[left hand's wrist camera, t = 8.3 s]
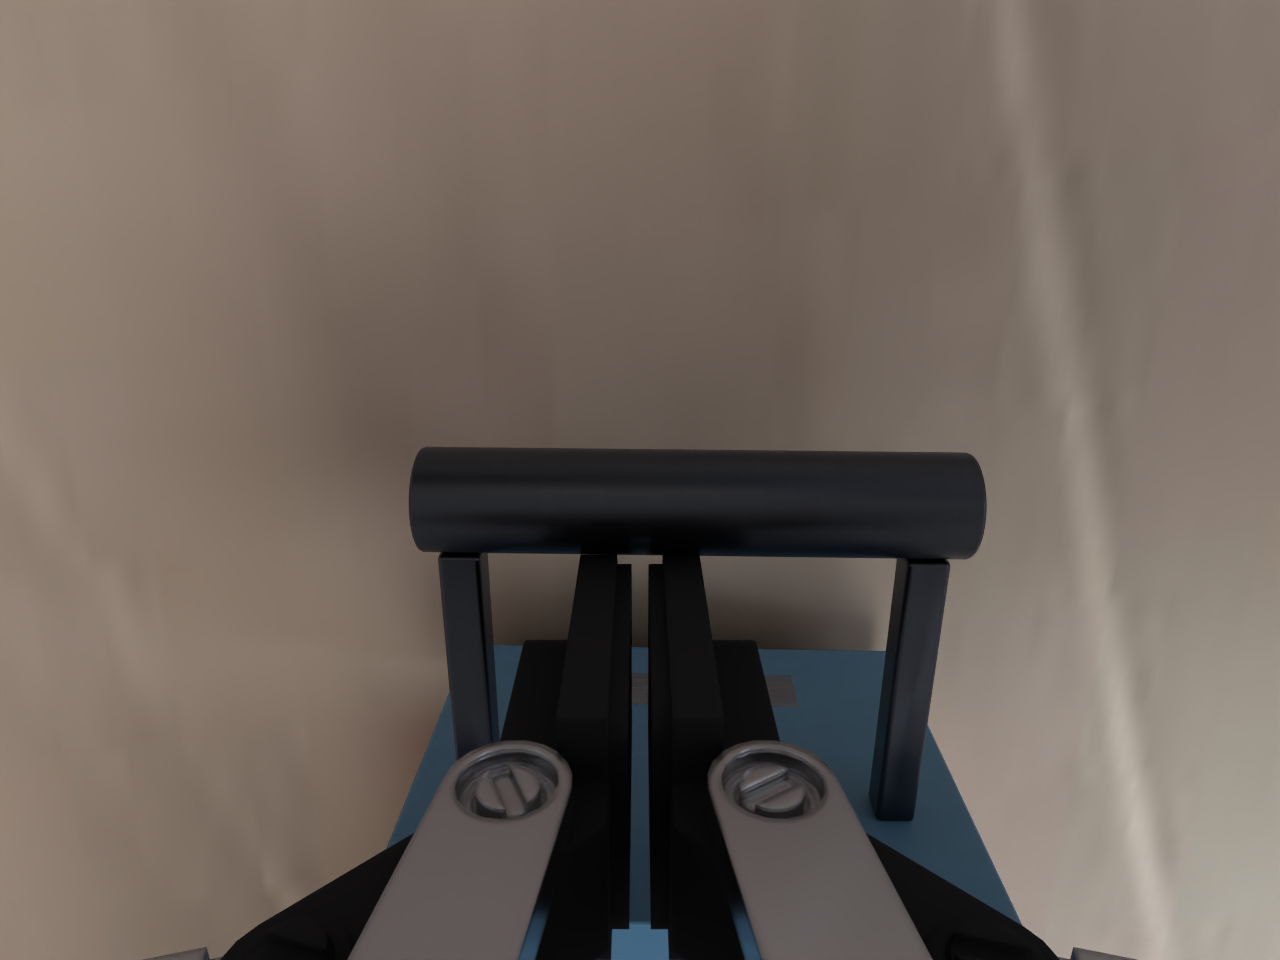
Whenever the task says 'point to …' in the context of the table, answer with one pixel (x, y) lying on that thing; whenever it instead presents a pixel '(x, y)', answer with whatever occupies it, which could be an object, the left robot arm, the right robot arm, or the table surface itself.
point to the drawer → (796, 679)
